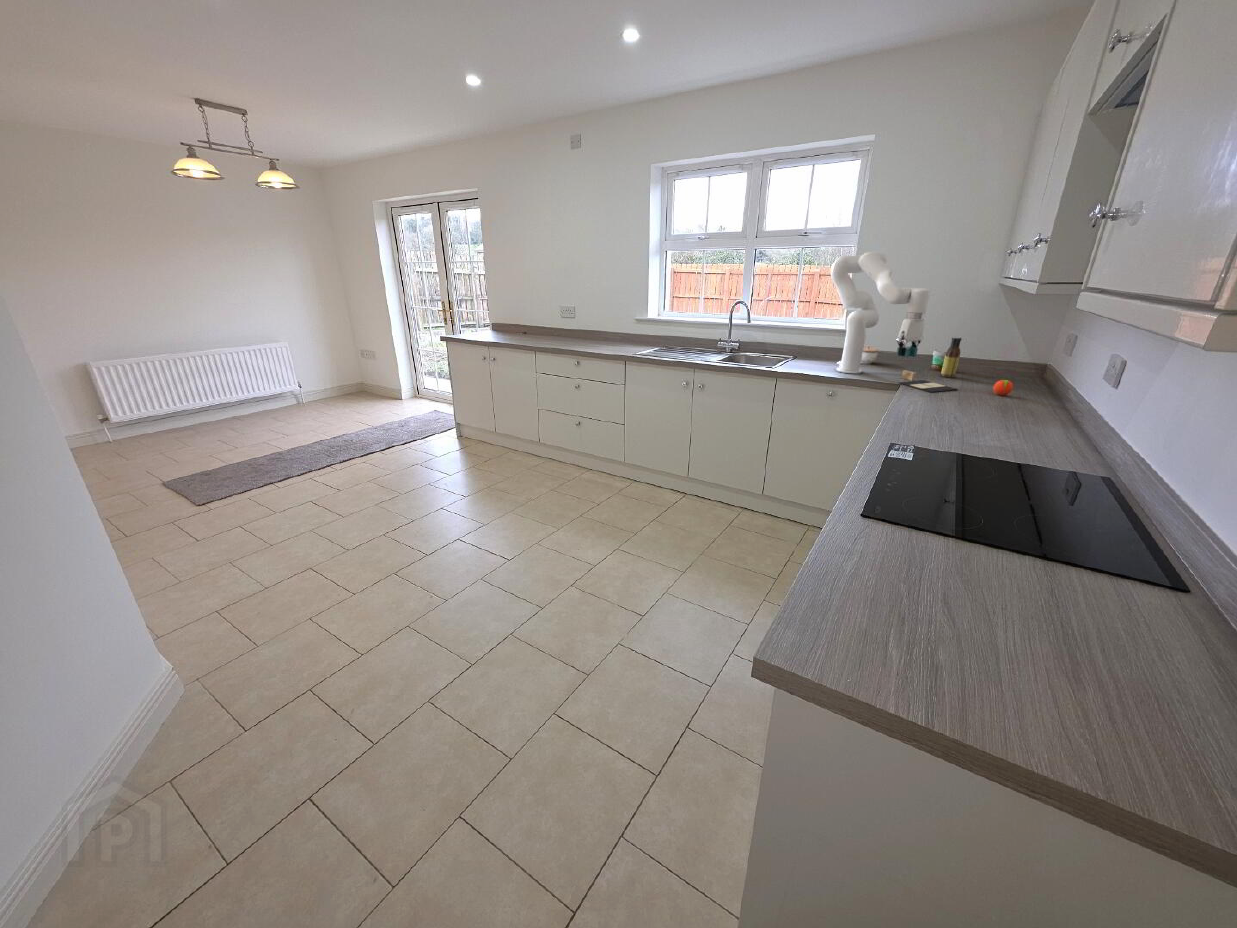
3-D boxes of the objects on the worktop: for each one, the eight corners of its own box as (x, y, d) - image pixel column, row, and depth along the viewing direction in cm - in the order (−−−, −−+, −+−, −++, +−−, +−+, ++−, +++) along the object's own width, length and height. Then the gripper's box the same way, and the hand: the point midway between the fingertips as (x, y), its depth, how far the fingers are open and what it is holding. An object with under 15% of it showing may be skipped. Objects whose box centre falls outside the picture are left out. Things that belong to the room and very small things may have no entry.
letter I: (901, 378, 246) (903, 370, 244) (904, 378, 246) (906, 370, 245) (911, 381, 240) (913, 373, 239) (914, 380, 241) (916, 372, 239)
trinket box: (867, 365, 275) (871, 348, 271) (851, 361, 283) (854, 345, 280) (879, 363, 279) (883, 347, 276) (863, 360, 288) (866, 344, 284)
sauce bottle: (950, 375, 252) (961, 336, 244) (957, 378, 246) (968, 338, 239) (937, 375, 253) (947, 336, 245) (943, 377, 247) (954, 338, 239)
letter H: (896, 355, 235) (897, 347, 233) (905, 354, 237) (907, 346, 235) (906, 357, 230) (908, 349, 228) (916, 356, 231) (918, 348, 230)
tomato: (1011, 398, 212) (1016, 382, 209) (992, 396, 215) (997, 380, 212) (1009, 394, 218) (1014, 379, 215) (990, 392, 221) (995, 377, 218)
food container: (923, 368, 267) (928, 350, 264) (930, 367, 270) (935, 349, 266) (945, 373, 257) (950, 354, 253) (952, 372, 260) (958, 353, 256)
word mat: (898, 383, 236) (899, 382, 236) (923, 381, 240) (924, 380, 240) (931, 392, 220) (931, 391, 220) (957, 390, 225) (957, 388, 225)
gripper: (922, 315, 232) (913, 352, 239) (894, 316, 227) (885, 354, 234) (936, 316, 225) (926, 355, 232) (907, 317, 220) (898, 357, 227)
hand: (906, 354), depth 233 cm, fingers closed on letter H, 6 cm apart
